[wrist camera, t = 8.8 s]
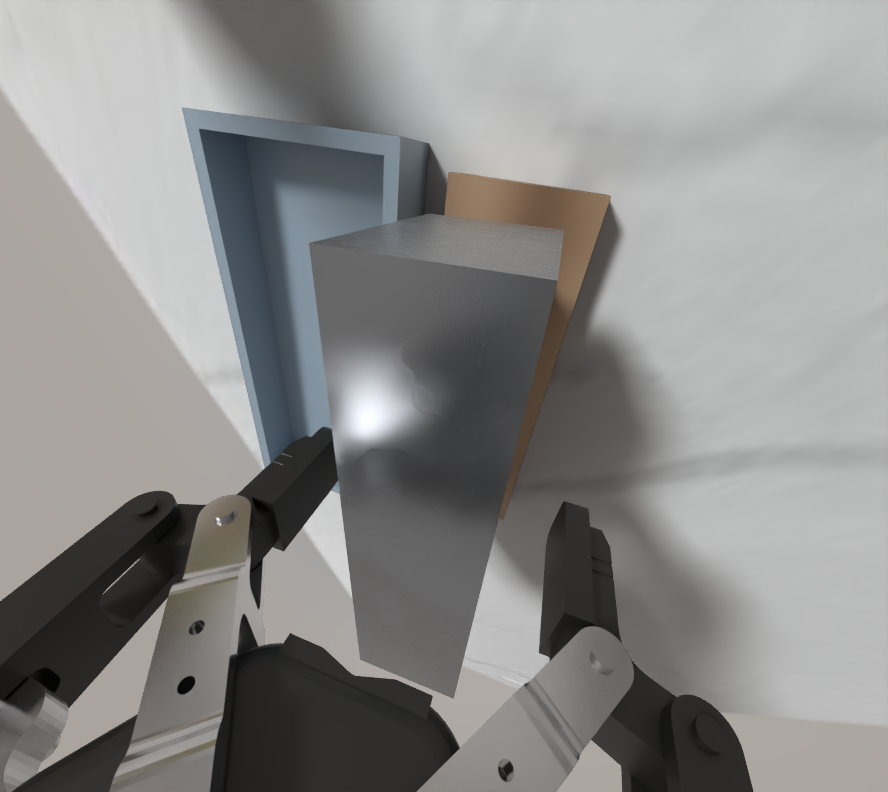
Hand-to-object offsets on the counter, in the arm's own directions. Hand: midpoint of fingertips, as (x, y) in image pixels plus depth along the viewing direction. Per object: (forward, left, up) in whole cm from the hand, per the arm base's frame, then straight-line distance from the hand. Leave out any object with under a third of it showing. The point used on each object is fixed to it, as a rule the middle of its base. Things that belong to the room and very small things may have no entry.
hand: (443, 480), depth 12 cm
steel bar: (0, 0, -3) cm, 3 cm away
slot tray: (+9, 0, -8) cm, 12 cm away
